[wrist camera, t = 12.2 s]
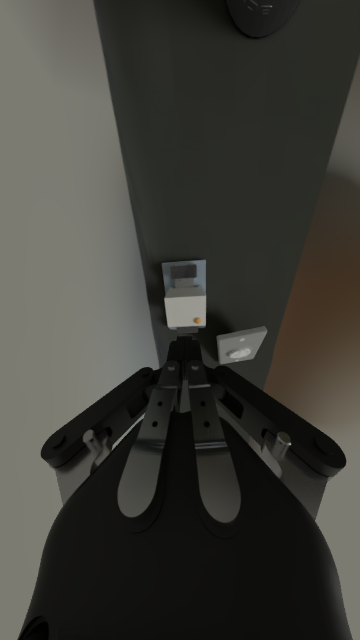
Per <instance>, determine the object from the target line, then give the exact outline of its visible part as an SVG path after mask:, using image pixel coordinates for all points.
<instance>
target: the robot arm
mask: <svg viewBox="0 0 360 640" xmlns="http://www.w3.org/2000/svg"><path fill="white" fill-rule="evenodd" d="M299 2H300V0H226V3H227V6H228V9H229V12H230V15H231V17H232V18H233V20H234V22H235V24H236V25H237V26H238V28H239V29H240V30H241V31H242V32H243V33H245V34H247V35H249V36H252V37H262V36H266V35H269V34H271V33H272V32H274V31H276V30H277V29H278V28H279V27H280V26H281V25H283V24H284V23H285V22H286V21H287V19H288V18H289V17H290V15H291V14H292V13H293V11H294V10H295V9H296V7H297V5H298V4H299ZM185 374H186V380H188V391H189V401H190V411H189V412H185V413H180V403H181V395H182V384H183V380H185ZM215 401H216V402H217V403H218V404H219V405H220V406H221V407H222V408H223V409H224V410H225V411H226V412H227V413H228V414H229V415H230V416H231V417H232V418H233V419H234V420H235V421H236V422H237V423H238V424H239V425H240V426H241V427H242V428H243V429H244V430H245V431H246V432H247V433H248V434H249V435H250V436H251V437H252V438H253V439H254V440H255V441H256V442H257V443H258V444H259V445H260V446H261V453H262V456H263V458H264V460H265V461H266V463H267V464H268V465H269V467H270V468H271V469H272V470H271V469H270V468H269V467H268V466H267V465H266V463H265V462H264V461H263V460H262V459H261V458H260V457H259V456H258V455H257V453H256V452H255V451H254V450H253V449H252V448H251V447H250V446H249V445H248V443H247V442H246V441H245V440H244V439H243V438H242V437H241V436H240V435H239V433H238V432H237V431H236V430H235V429H234V428H233V427H232V426H231V425H230V424H229V423H228V422H227V421H226V420H224V419H223V418H221V417H219V415H218V411H217V407H216V404H215ZM144 413H145V416H144V418H143V419H142V420H141V421H139V422H138V423H137V424H136V425H135V426H134V427H133V428H132V429H131V431H130V432H129V433H128V434H127V435H126V436H125V437H124V438H123V439H122V440H121V441H120V443H119V444H118V445H117V446H116V447H115V448H114V449H113V450H112V446H113V444H114V443H115V442H116V441H117V440H118V439H119V438H120V437H121V436H122V435H123V434H124V433H125V432H126V431H127V430H128V429H129V428H130V427H131V426H132V425H133V424H134V423H135V422H136V421H137V420H138V419H139V418H140V417H141V416H142V415H143V414H144ZM41 457H42V458H43V459H44V460H45V461H46V462H47V463H49V466H50V467H51V468H53V469H54V470H55V471H56V476H57V480H58V485H59V489H60V493H61V498H62V502H63V507H62V509H61V510H60V512H59V514H58V515H57V517H56V519H55V521H54V523H53V525H52V527H51V529H50V532H49V534H48V537H47V540H46V543H45V546H44V549H43V554H42V558H41V563H40V568H39V573H38V577H37V582H36V586H35V589H34V593H33V596H32V599H31V603H30V606H29V609H28V612H27V615H26V618H25V621H24V624H23V627H22V629H21V632H20V635H19V637H18V639H17V640H353V639H352V636H351V633H350V629H349V625H348V621H347V617H346V613H345V608H344V604H343V598H342V593H341V586H340V581H339V576H338V573H337V569H336V566H335V562H334V559H333V557H332V554H331V552H330V549H329V547H328V545H327V542H326V540H325V538H324V536H323V534H322V532H321V531H320V529H319V527H318V526H317V524H316V522H315V519H316V516H317V513H318V509H319V506H320V503H321V500H322V497H323V493H324V490H325V487H326V483H327V482H328V481H329V480H330V479H332V478H333V477H334V476H335V475H336V474H337V473H338V472H339V471H340V470H341V469H343V468H344V467H345V465H346V457H345V455H344V453H343V451H342V450H341V448H340V447H339V446H338V444H337V443H336V442H335V441H334V440H332V439H331V438H330V437H329V436H327V435H326V434H324V433H323V432H321V431H320V430H319V429H317V428H316V427H314V426H312V425H311V424H310V423H308V422H307V421H306V420H304V419H303V418H301V417H300V416H298V415H297V414H295V413H294V412H292V411H291V410H290V409H288V408H287V407H285V406H284V405H282V404H281V403H279V402H278V401H276V400H275V399H274V398H272V397H271V396H269V395H268V394H266V393H265V392H263V391H262V390H260V389H259V388H258V387H256V386H255V385H253V384H252V383H250V382H249V381H247V380H246V379H245V378H243V377H242V376H240V375H239V374H237V373H236V372H234V371H233V370H231V369H230V368H228V367H226V366H217V367H216V368H215V369H213V368H209V367H207V366H205V365H204V364H203V361H202V355H201V348H200V343H199V342H198V340H192V335H189V336H185V337H184V336H177V341H172V342H171V343H170V346H169V351H168V357H167V362H166V363H165V364H164V365H163V367H162V368H160V369H158V370H154V371H153V369H152V368H150V367H145V368H142V369H140V370H139V371H137V372H136V373H135V374H133V375H132V376H131V377H129V378H128V379H126V380H125V381H124V382H122V383H121V384H120V385H118V386H117V387H116V388H114V389H113V390H112V391H110V392H109V393H108V394H106V395H105V396H103V397H102V398H101V399H99V400H98V401H97V402H95V403H94V404H93V405H91V406H90V407H89V408H87V409H86V410H85V411H83V412H82V413H81V414H79V415H78V416H76V417H75V418H74V419H72V420H71V421H70V422H68V423H67V424H66V425H64V426H63V427H62V428H60V429H59V430H58V431H56V432H55V433H54V434H52V435H51V436H50V437H49V439H48V440H47V441H46V442H45V444H44V445H43V447H42V450H41Z"/></svg>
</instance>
